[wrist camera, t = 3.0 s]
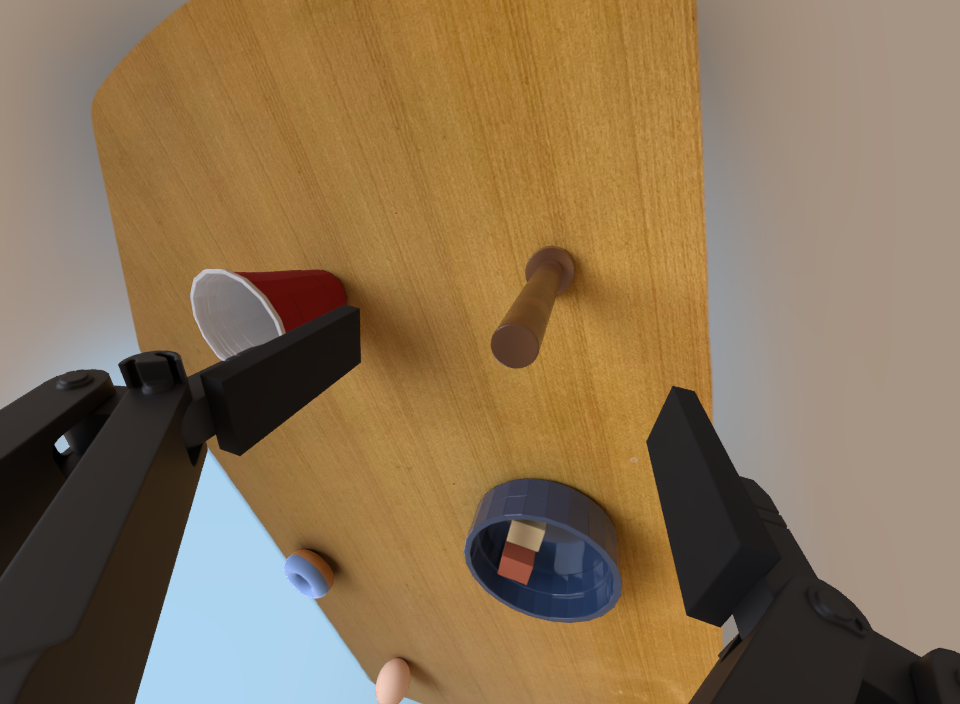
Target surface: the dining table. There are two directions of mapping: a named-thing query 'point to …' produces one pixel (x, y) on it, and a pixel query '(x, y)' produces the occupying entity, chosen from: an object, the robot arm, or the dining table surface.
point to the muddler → (533, 307)
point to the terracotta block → (516, 562)
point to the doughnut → (309, 573)
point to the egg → (393, 682)
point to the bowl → (548, 551)
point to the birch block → (527, 533)
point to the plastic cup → (259, 305)
